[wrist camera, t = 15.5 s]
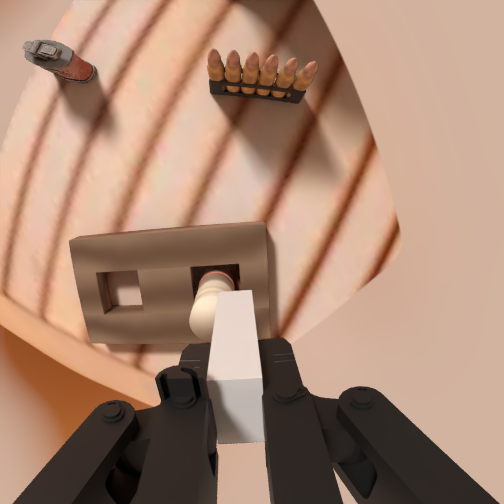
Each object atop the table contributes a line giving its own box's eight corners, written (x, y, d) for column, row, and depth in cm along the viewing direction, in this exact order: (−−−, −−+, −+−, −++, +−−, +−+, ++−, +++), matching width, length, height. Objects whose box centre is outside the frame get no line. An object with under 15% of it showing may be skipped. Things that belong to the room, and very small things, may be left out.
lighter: (48, 74, 32) (8, 55, 22) (59, 53, 31) (23, 30, 21) (89, 87, 33) (51, 66, 23) (101, 65, 32) (67, 38, 22)
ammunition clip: (210, 93, 34) (200, 58, 23) (212, 80, 34) (203, 40, 22) (298, 103, 35) (325, 73, 23) (300, 90, 35) (327, 55, 23)
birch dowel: (199, 265, 39) (185, 302, 27) (233, 263, 39) (233, 299, 27) (202, 297, 40) (191, 343, 28) (235, 295, 40) (236, 341, 28)
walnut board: (79, 236, 37) (68, 240, 34) (263, 221, 38) (265, 224, 35) (98, 333, 40) (90, 343, 37) (268, 327, 41) (270, 338, 38)
